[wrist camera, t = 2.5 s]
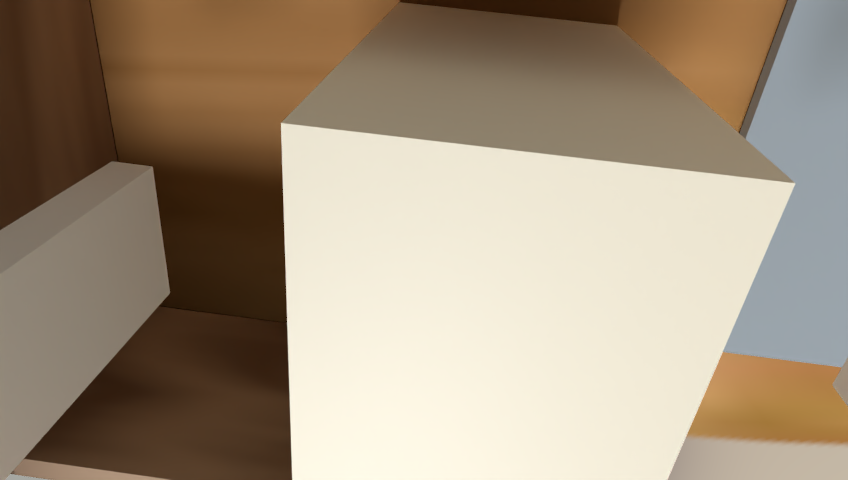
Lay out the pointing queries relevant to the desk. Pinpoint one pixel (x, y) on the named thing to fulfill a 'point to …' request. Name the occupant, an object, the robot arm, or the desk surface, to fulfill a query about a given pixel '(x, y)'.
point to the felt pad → (803, 191)
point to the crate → (165, 328)
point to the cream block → (510, 253)
